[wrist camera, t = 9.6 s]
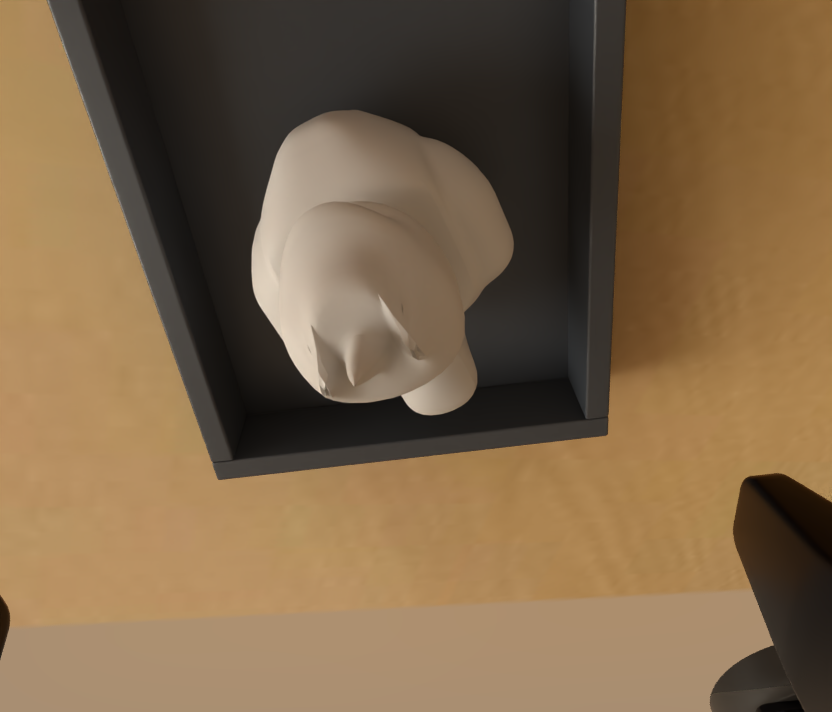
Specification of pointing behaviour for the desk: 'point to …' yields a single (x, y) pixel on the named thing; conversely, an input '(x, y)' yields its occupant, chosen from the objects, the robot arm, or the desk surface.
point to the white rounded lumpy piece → (377, 259)
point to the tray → (400, 102)
